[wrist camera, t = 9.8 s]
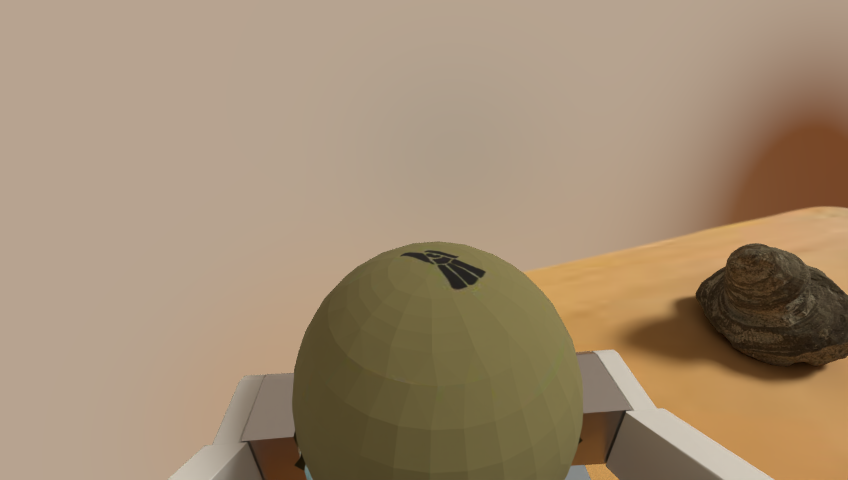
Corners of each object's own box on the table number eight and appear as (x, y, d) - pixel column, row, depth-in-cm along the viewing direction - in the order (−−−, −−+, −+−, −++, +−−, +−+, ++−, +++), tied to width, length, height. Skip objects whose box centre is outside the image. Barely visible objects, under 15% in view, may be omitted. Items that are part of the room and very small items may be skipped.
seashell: (665, 226, 35) (687, 286, 27) (836, 171, 29) (931, 227, 21) (708, 320, 38) (739, 400, 30) (873, 289, 32) (970, 379, 24)
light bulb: (538, 479, 13) (600, 212, 8) (525, 736, 8) (656, 477, 3) (385, 435, 14) (357, 186, 9) (301, 631, 10) (163, 344, 5)
